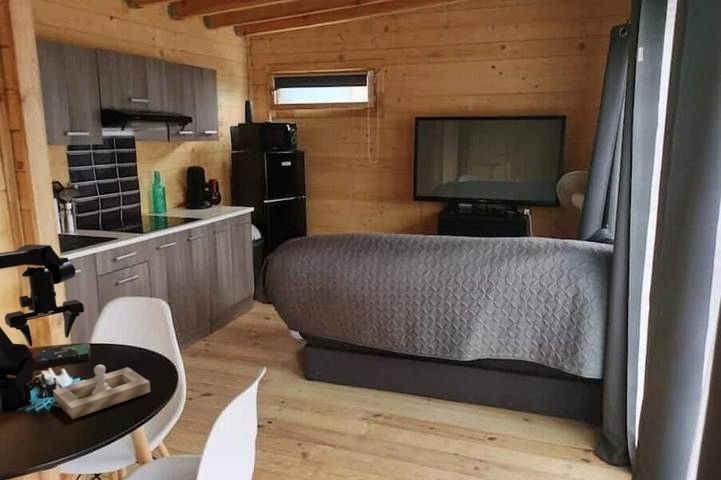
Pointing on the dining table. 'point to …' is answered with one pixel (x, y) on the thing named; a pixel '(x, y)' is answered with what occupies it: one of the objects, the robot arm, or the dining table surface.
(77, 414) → the wooden rectangular frame
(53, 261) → the robot arm
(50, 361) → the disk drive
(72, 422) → the dining table surface
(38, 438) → the dining table surface
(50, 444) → the dining table surface
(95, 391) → the chess pawn
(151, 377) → the dining table surface
